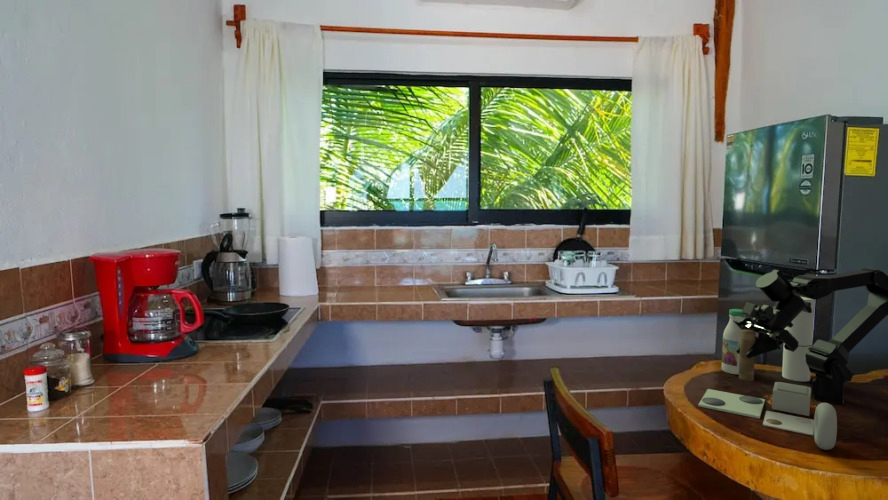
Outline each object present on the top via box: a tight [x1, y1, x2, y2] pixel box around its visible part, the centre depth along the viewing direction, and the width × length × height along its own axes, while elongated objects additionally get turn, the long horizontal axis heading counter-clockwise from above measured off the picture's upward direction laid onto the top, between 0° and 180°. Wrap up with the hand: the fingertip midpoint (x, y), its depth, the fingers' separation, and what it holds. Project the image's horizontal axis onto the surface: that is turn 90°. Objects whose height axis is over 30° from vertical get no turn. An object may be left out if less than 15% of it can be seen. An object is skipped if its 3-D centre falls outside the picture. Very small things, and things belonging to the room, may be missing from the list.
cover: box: [771, 381, 812, 417], centre depth 137 cm, size 8×8×5 cm
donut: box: [813, 402, 838, 451], centre depth 114 cm, size 10×3×10 cm, turn 149°
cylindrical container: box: [781, 297, 815, 382], centre depth 159 cm, size 7×7×25 cm
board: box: [697, 388, 766, 420], centre depth 140 cm, size 14×14×1 cm
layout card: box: [762, 410, 814, 437], centre depth 127 cm, size 10×10×1 cm
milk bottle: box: [721, 308, 747, 376], centre depth 165 cm, size 8×8×20 cm
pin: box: [738, 330, 756, 382], centre depth 139 cm, size 4×4×13 cm
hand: (742, 354), depth 139 cm, fingers closed on pin, 3 cm apart
